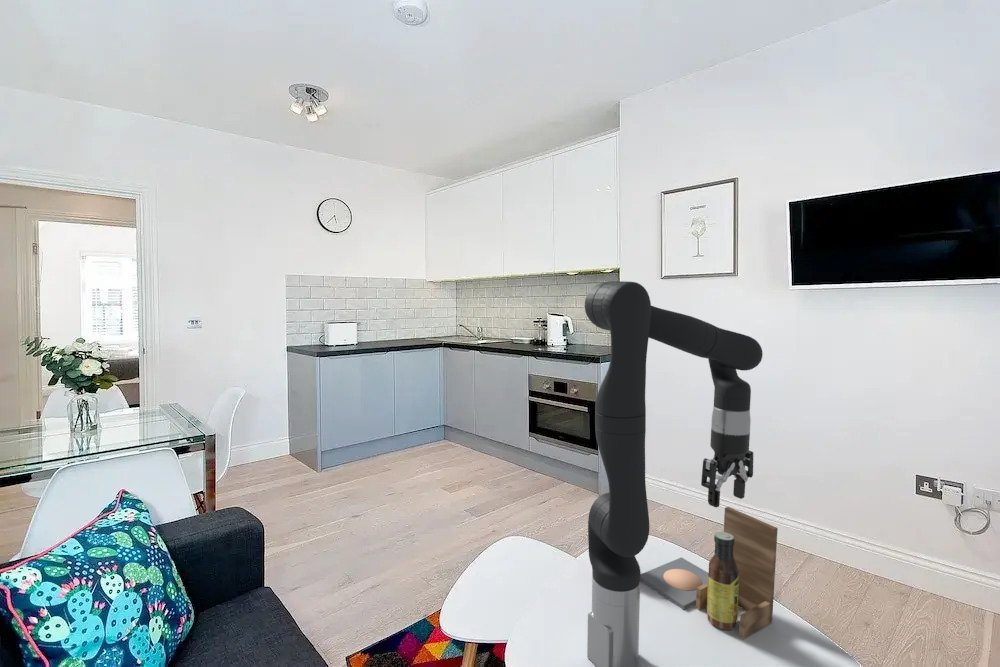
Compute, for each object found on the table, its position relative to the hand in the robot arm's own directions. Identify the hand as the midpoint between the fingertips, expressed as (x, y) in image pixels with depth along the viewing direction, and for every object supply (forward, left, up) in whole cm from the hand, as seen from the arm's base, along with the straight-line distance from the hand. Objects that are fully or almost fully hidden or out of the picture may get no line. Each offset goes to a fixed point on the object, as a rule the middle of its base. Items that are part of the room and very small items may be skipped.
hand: (726, 501), depth 110 cm
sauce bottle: (0, 0, -28) cm, 28 cm away
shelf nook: (+4, 0, -28) cm, 28 cm away
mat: (+4, +14, -28) cm, 31 cm away
